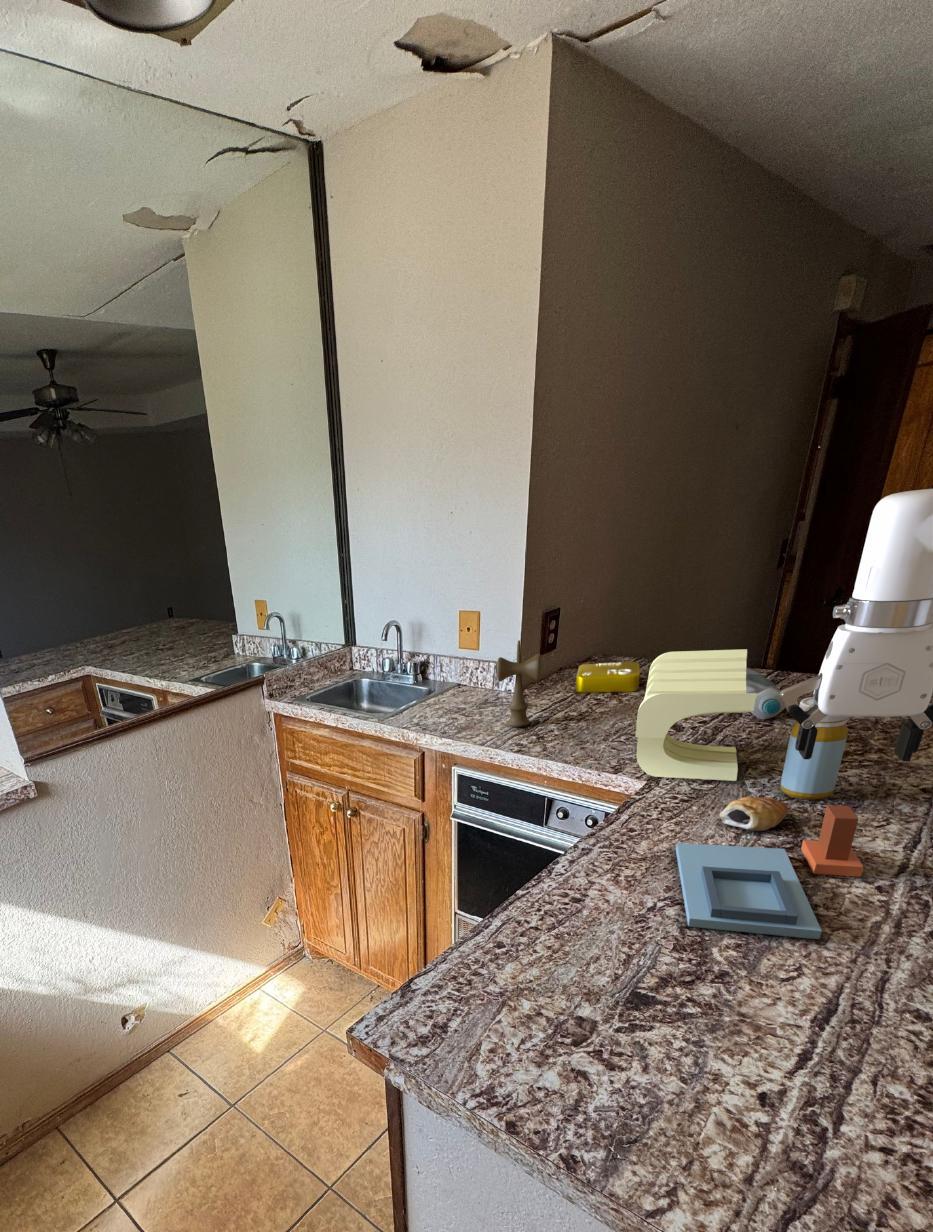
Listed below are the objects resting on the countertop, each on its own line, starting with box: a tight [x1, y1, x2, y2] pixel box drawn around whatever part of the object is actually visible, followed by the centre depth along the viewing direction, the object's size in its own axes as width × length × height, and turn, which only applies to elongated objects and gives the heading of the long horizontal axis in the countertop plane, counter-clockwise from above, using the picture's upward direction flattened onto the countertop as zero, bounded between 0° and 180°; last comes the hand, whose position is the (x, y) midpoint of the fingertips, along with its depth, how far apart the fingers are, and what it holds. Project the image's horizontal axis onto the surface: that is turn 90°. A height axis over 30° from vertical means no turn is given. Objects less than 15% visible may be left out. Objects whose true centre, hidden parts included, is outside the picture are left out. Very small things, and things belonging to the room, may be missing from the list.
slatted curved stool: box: [634, 649, 757, 782], centre depth 117 cm, size 30×16×18 cm, turn 151°
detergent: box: [746, 666, 786, 721], centre depth 142 cm, size 13×7×25 cm
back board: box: [675, 842, 823, 940], centre depth 84 cm, size 13×20×2 cm, turn 157°
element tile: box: [575, 661, 641, 694], centre depth 173 cm, size 15×15×5 cm
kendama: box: [496, 639, 542, 728], centre depth 150 cm, size 6×10×20 cm, turn 71°
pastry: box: [719, 796, 789, 832], centre depth 98 cm, size 9×7×4 cm
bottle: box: [779, 696, 849, 801], centre depth 102 cm, size 7×7×15 cm
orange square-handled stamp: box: [800, 804, 864, 878], centre depth 85 cm, size 5×7×8 cm
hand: (851, 756), depth 80 cm, fingers open, 9 cm apart
